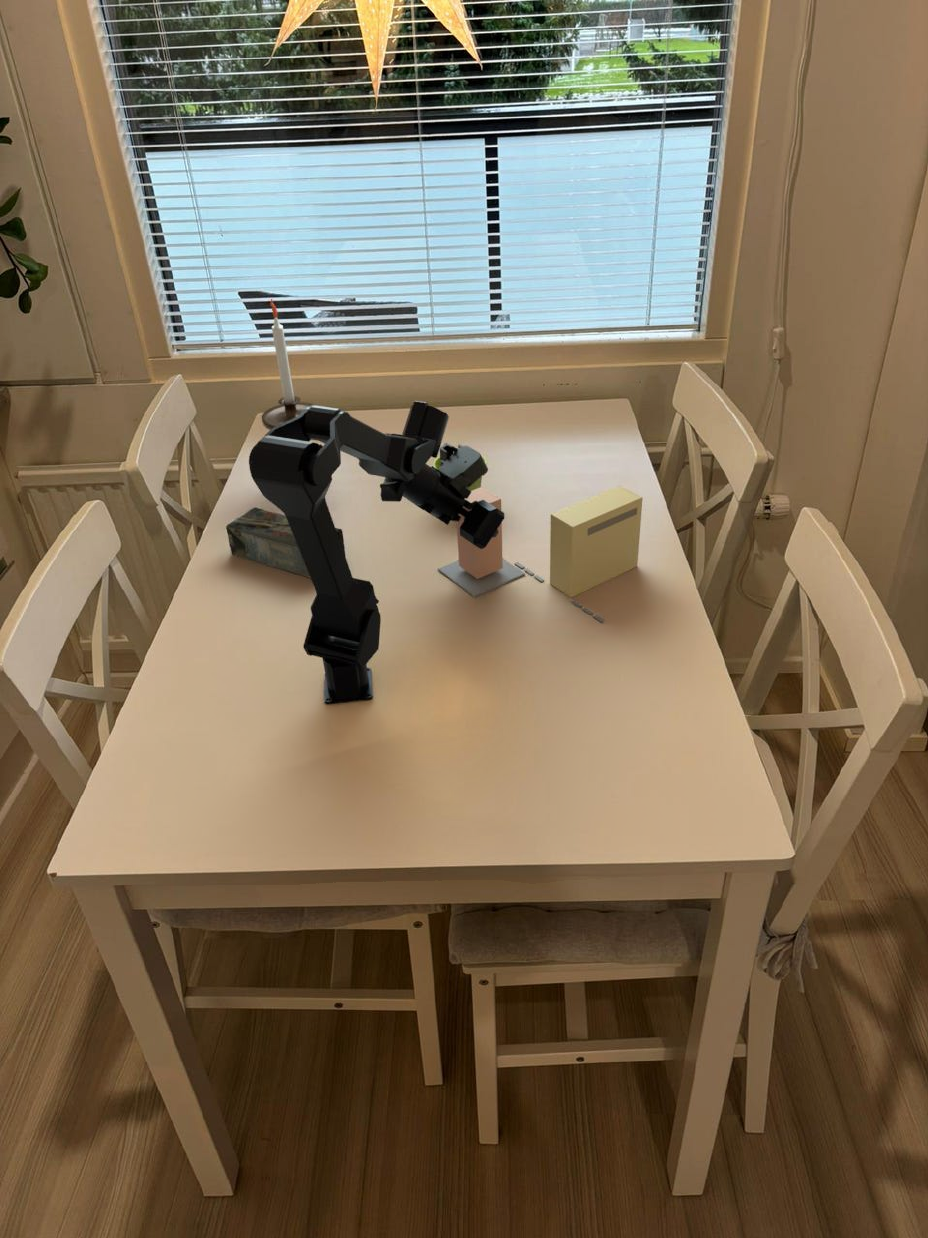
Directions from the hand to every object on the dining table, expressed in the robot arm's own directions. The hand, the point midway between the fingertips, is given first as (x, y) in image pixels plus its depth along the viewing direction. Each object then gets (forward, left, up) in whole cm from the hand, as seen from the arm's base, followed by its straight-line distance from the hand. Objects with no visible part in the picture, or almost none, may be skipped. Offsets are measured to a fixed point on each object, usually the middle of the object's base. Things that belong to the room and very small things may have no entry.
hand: (486, 527), depth 145 cm
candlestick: (+36, +31, -8) cm, 48 cm away
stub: (-1, +1, -7) cm, 7 cm away
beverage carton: (+10, +33, -8) cm, 35 cm away
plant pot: (+22, +2, -8) cm, 23 cm away
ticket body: (-4, -16, -8) cm, 19 cm away
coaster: (-1, +1, -8) cm, 8 cm away
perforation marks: (-8, -10, -8) cm, 15 cm away
